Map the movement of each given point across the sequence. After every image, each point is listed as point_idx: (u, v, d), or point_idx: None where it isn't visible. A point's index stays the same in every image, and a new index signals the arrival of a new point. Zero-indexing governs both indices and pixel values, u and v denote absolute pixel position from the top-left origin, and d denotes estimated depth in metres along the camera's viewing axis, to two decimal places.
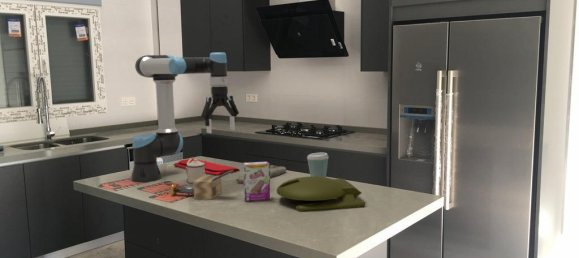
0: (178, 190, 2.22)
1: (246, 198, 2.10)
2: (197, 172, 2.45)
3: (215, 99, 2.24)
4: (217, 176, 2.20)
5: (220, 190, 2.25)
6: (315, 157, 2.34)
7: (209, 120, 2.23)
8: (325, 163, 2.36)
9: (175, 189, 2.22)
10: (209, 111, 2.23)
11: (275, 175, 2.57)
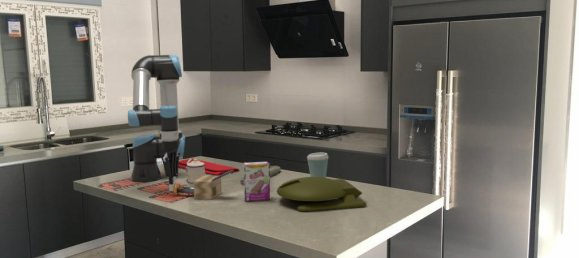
0: (181, 191, 2.21)
1: (246, 198, 2.10)
2: (197, 172, 2.45)
3: (169, 154, 2.18)
4: (217, 176, 2.20)
5: (220, 190, 2.25)
6: (315, 157, 2.34)
7: (173, 178, 2.22)
8: (325, 163, 2.36)
9: (178, 189, 2.22)
10: None
11: (273, 174, 2.59)
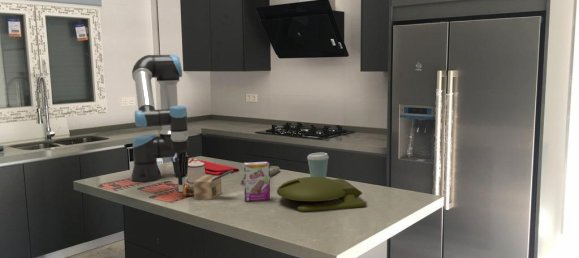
0: (191, 191, 2.20)
1: (246, 198, 2.10)
2: (197, 172, 2.45)
3: (179, 154, 2.17)
4: (217, 176, 2.20)
5: (220, 190, 2.25)
6: (315, 157, 2.34)
7: (182, 179, 2.21)
8: (325, 163, 2.36)
9: (188, 190, 2.21)
10: None
11: (273, 174, 2.59)
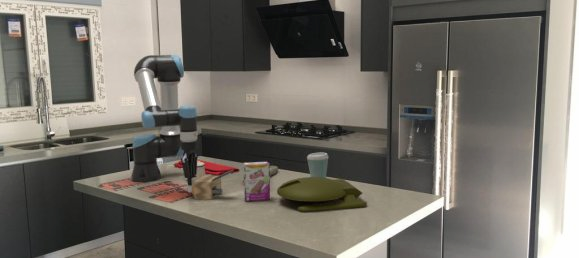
0: None
1: (246, 198, 2.10)
2: (197, 172, 2.45)
3: (188, 155, 2.16)
4: (217, 176, 2.20)
5: None
6: (315, 157, 2.34)
7: (192, 179, 2.20)
8: (325, 163, 2.36)
9: None
10: None
11: None
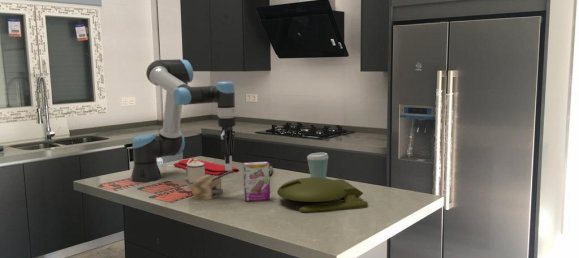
0: None
1: (246, 198, 2.10)
2: (197, 172, 2.45)
3: (226, 132, 2.10)
4: (217, 176, 2.20)
5: None
6: (315, 157, 2.34)
7: (229, 157, 2.14)
8: (325, 163, 2.36)
9: None
10: None
11: None
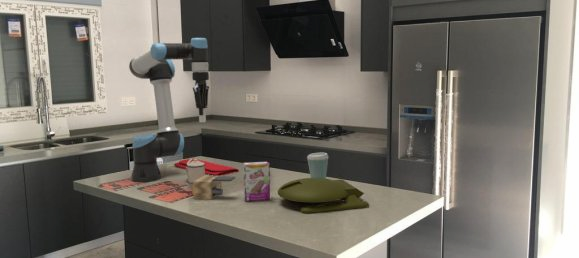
0: None
1: (246, 198, 2.10)
2: (197, 172, 2.45)
3: (200, 85, 2.24)
4: (217, 176, 2.20)
5: None
6: (315, 157, 2.34)
7: (203, 109, 2.28)
8: (325, 163, 2.36)
9: None
10: None
11: None
